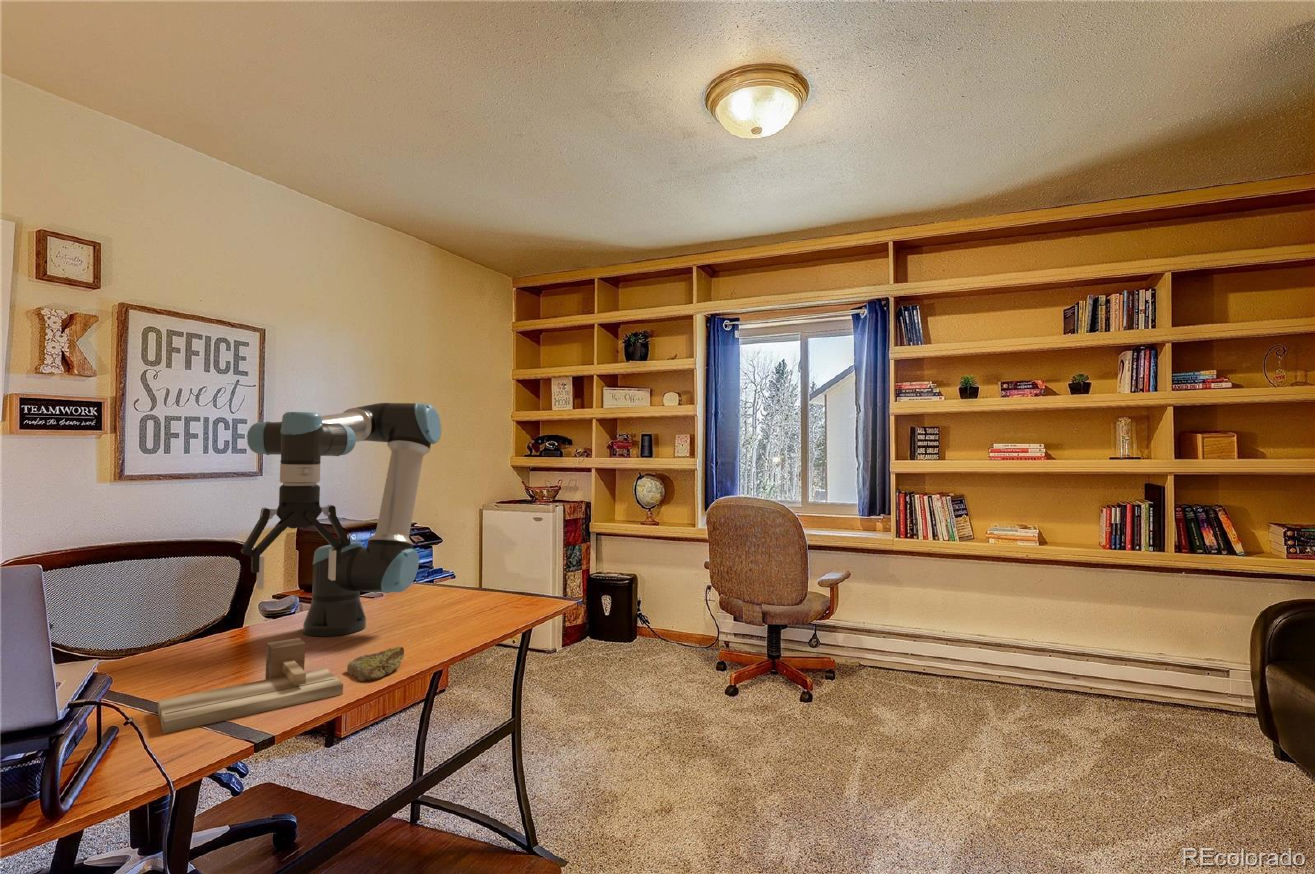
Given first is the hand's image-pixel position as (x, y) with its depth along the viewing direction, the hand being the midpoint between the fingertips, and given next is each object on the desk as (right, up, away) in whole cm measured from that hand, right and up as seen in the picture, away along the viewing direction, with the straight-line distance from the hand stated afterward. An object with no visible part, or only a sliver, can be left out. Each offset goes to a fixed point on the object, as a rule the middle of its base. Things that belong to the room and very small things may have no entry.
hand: (297, 583), depth 132 cm
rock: (+14, -21, +4) cm, 26 cm away
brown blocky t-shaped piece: (+2, -20, -7) cm, 21 cm away
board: (0, -19, -14) cm, 24 cm away
